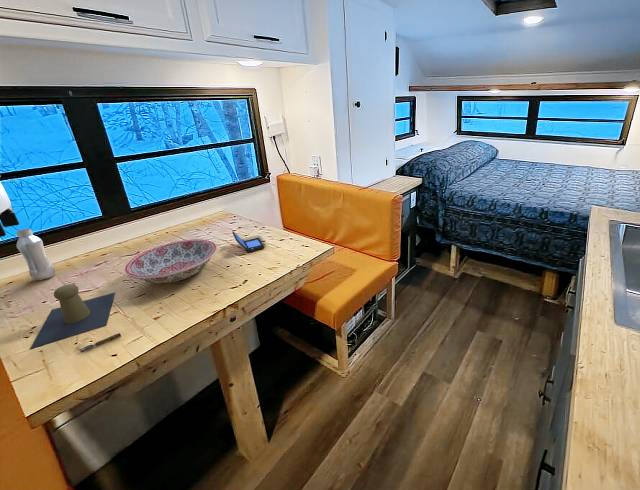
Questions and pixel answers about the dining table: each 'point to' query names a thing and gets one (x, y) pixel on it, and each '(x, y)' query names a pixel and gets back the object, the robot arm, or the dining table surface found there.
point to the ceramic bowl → (171, 261)
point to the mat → (60, 330)
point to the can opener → (102, 341)
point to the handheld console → (249, 243)
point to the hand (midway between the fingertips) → (5, 231)
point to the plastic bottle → (34, 255)
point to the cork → (71, 303)
